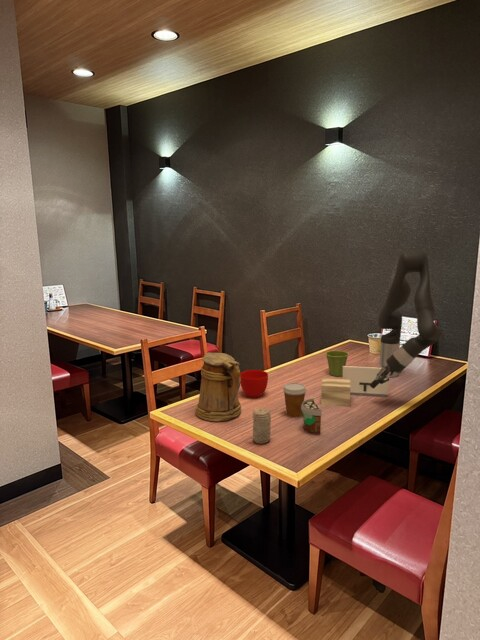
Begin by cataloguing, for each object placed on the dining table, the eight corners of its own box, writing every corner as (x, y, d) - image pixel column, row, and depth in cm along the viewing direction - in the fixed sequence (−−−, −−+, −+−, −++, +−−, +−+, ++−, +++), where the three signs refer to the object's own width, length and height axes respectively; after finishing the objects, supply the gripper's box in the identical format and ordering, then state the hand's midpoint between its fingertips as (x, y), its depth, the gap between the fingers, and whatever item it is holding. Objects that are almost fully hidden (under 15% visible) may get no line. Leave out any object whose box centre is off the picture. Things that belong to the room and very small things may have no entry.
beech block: (322, 396, 208) (322, 377, 206) (349, 398, 205) (350, 379, 203) (321, 405, 198) (321, 385, 196) (349, 407, 196) (350, 387, 194)
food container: (297, 422, 181) (298, 398, 179) (313, 421, 182) (313, 397, 179) (304, 436, 169) (305, 411, 167) (321, 435, 170) (321, 410, 167)
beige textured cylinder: (250, 444, 164) (249, 412, 162) (256, 435, 171) (256, 404, 168) (267, 446, 162) (266, 415, 159) (273, 437, 169) (273, 407, 166)
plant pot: (347, 371, 242) (348, 350, 240) (348, 378, 230) (349, 357, 228) (324, 370, 244) (325, 349, 242) (324, 377, 233) (325, 356, 230)
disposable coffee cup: (308, 410, 192) (308, 383, 190) (303, 420, 183) (303, 391, 181) (285, 408, 195) (285, 381, 193) (280, 417, 186) (280, 389, 184)
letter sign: (342, 389, 216) (342, 363, 213) (386, 392, 211) (388, 365, 208) (342, 394, 210) (342, 366, 207) (387, 397, 205) (389, 369, 203)
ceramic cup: (275, 389, 217) (275, 369, 215) (261, 402, 202) (261, 380, 200) (250, 385, 223) (250, 366, 221) (235, 397, 208) (234, 376, 206)
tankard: (219, 401, 204) (218, 347, 199) (258, 416, 188) (257, 357, 182) (187, 413, 192) (185, 355, 187) (225, 430, 175) (223, 368, 170)
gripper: (392, 348, 198) (364, 375, 204) (394, 359, 186) (364, 387, 192) (406, 359, 198) (377, 386, 204) (408, 371, 185) (378, 398, 192)
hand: (371, 386), depth 198 cm, fingers closed
